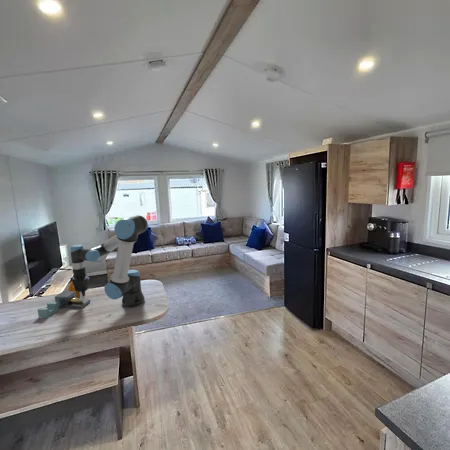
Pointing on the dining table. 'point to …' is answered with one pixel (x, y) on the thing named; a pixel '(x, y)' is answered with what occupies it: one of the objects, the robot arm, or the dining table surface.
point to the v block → (48, 310)
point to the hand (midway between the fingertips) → (82, 300)
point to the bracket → (73, 289)
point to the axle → (75, 300)
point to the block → (64, 300)
